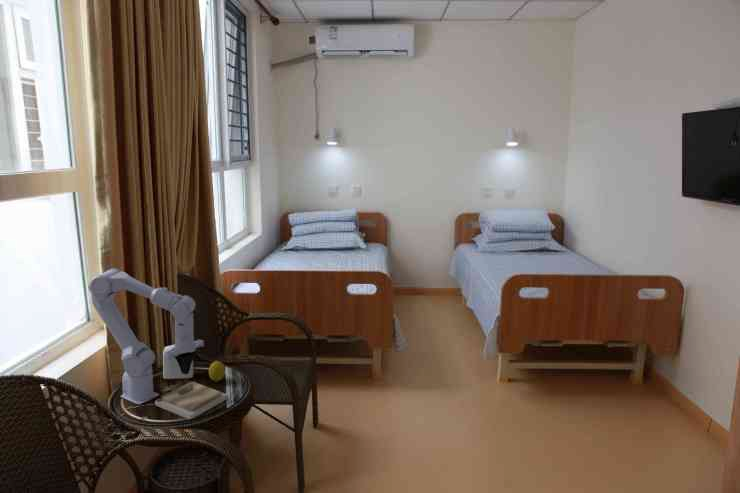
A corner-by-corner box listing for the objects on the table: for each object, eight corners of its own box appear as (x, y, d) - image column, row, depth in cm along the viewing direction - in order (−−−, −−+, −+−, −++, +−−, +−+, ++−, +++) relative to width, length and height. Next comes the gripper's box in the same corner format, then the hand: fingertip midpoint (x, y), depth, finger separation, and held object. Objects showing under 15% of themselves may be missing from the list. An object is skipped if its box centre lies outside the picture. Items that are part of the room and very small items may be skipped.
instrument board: (161, 398, 164) (161, 391, 163) (191, 384, 175) (191, 377, 174) (192, 411, 157) (191, 403, 157) (221, 394, 168) (221, 387, 168)
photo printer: (194, 373, 187) (193, 342, 184) (192, 378, 182) (192, 346, 180) (164, 375, 184) (163, 343, 182) (162, 380, 180) (161, 347, 178)
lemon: (220, 386, 178) (220, 365, 176) (206, 384, 179) (205, 363, 177) (227, 379, 183) (227, 358, 182) (213, 377, 184) (213, 356, 183)
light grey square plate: (155, 405, 163) (154, 398, 163) (193, 386, 177) (193, 380, 176) (190, 419, 156) (190, 412, 155) (227, 398, 169) (227, 392, 169)
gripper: (174, 343, 155) (175, 384, 158) (210, 330, 168) (210, 368, 170) (158, 338, 158) (160, 378, 161) (195, 325, 171) (195, 363, 174)
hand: (185, 373), depth 166 cm, fingers closed
